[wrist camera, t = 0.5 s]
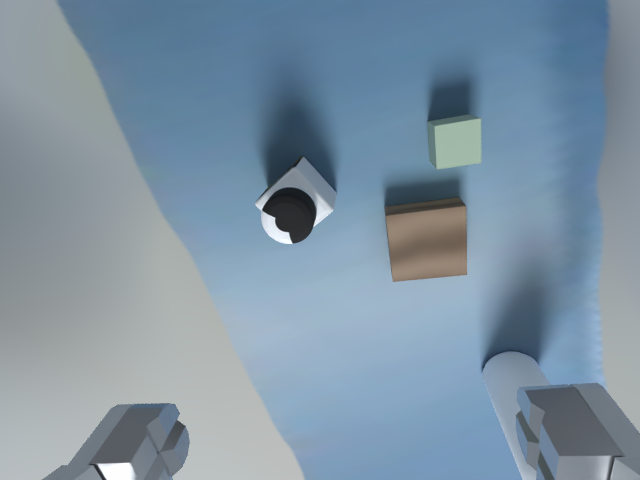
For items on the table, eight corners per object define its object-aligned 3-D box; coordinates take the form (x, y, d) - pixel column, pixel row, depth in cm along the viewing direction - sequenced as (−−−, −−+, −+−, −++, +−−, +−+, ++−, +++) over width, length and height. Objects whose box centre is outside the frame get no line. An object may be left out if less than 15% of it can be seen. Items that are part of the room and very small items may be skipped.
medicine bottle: (303, 154, 49) (286, 177, 38) (337, 193, 50) (331, 225, 40) (266, 188, 51) (241, 218, 40) (301, 224, 53) (285, 262, 42)
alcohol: (533, 343, 57) (689, 585, 30) (540, 384, 60) (687, 637, 33) (475, 354, 59) (573, 591, 32) (485, 393, 62) (581, 639, 35)
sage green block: (427, 121, 46) (434, 126, 41) (468, 114, 45) (481, 118, 40) (429, 160, 47) (436, 169, 43) (469, 154, 47) (481, 162, 42)
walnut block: (384, 205, 51) (386, 215, 47) (458, 196, 49) (466, 205, 46) (390, 268, 55) (393, 281, 51) (459, 261, 53) (467, 274, 49)
